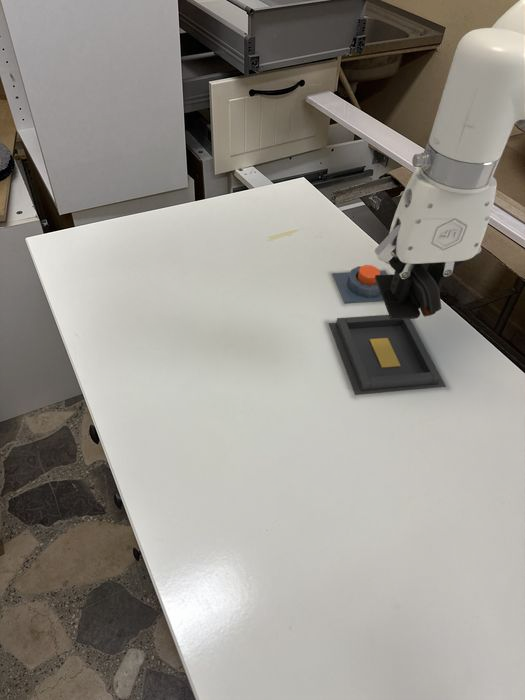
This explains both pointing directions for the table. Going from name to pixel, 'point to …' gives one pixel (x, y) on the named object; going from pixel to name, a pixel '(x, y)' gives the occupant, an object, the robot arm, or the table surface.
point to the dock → (384, 355)
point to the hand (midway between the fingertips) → (413, 294)
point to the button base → (356, 287)
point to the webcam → (411, 295)
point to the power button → (368, 274)
